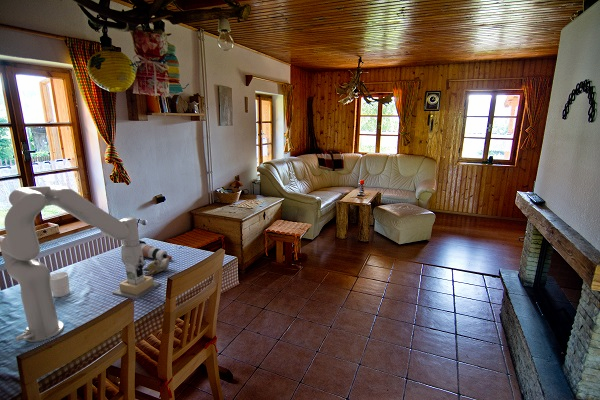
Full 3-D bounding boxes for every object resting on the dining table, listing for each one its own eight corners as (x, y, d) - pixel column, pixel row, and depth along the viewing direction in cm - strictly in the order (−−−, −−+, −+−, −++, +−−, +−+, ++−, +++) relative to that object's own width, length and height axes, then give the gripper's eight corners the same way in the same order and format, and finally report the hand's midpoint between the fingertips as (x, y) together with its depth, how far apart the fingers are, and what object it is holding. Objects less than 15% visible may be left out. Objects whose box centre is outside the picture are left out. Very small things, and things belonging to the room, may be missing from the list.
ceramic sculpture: (170, 258, 184) (142, 266, 176) (173, 271, 186) (145, 280, 178) (165, 252, 192) (138, 260, 184) (168, 265, 195) (141, 273, 186)
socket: (136, 300, 158) (135, 291, 157) (112, 293, 163) (111, 285, 162) (161, 284, 173) (160, 276, 171) (137, 279, 178) (136, 271, 177)
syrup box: (145, 284, 169) (142, 258, 166) (136, 289, 164) (133, 263, 160) (136, 282, 171) (133, 257, 167) (127, 287, 166) (124, 261, 162)
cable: (168, 269, 200) (162, 259, 193) (126, 255, 210) (119, 245, 203) (178, 256, 207) (173, 246, 200) (136, 244, 216) (130, 234, 210)
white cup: (49, 298, 159) (45, 280, 156) (56, 290, 166) (52, 273, 163) (67, 296, 161) (64, 278, 158) (73, 288, 168) (70, 271, 166)
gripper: (111, 242, 161) (116, 275, 165) (138, 247, 155) (142, 281, 160) (124, 237, 168) (128, 268, 172) (150, 241, 162) (153, 274, 166)
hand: (135, 274), depth 166 cm, fingers closed on syrup box, 5 cm apart
